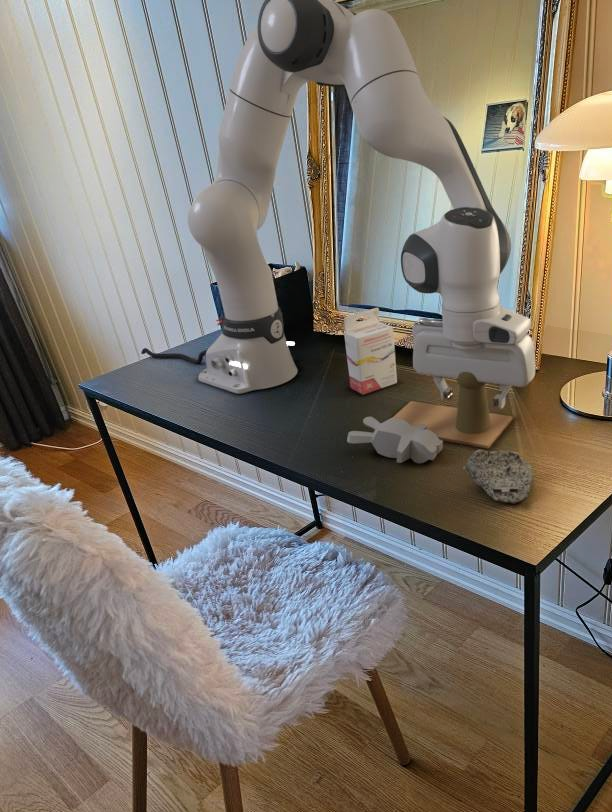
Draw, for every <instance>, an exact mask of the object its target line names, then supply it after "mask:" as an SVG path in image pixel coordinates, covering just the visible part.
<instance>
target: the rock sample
mask: <svg viewBox="0 0 612 812" xmlns="http://www.w3.org/2000/svg"><path fill="white" fill-rule="evenodd" d="M520 455H521V454H520V453H519V452H518V451H514V450H503V449H500V450H498V449H497V450H491V451H490V450H489V451H488V450H486V449H477V450H475V451H474V452H473V453H472V454H470V456H469V458H468V459H467V460H466V464H464V466H463V468H462V469H463V470H465V471H466V472H467V474H468V475H469V478H470V479H471V481H473V482H474V483H475V484H476V485H478V486H479V487H481V488H482V489H483V491H482V492H485V494H487V495H488V496H489V497H490V498H492V500H494V501H497V502H502V503H506V504H507V503H510V504H512V505H515V504H517V503H519V502H522V501H524V500H526V498H528V497H529V495H530V494H531V493H530V491H531V490H530V489H531V484H532V483H533V482H534V481H533V478H532V477H533V476H534V475H535V474H534V473H535V472H536V470H534V472H533V467H532V466H531V464H530V463H529V462H528V460H527V459H525V458H522V457H521V456H520Z"/></svg>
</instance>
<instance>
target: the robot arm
mask: <svg viewBox="0 0 612 812" xmlns="http://www.w3.org/2000/svg"><path fill="white" fill-rule="evenodd" d="M309 82H313V83H315V84H316V85H318V86H322V87H332V88H345V90H346V94H347V96H348V99H349V103H350V107H351V109H352V113H353V117H354V120H355V122H356V125H357V128H358V130H359V133H360V134H361V136H362V138H363V139H364V141H365V143H366V144H367V145H368V146H369V147H370V148H372V149H373V150H374V151H376V152H378V153H379V154H381V155H384V156H386V157H389V158H393V159H398V160H403V161H408V162H411V163H414V164H417V165H419V166H422V167H424V168H426V169H428V170H429V171H431V172H432V173H433V174H435V176H436V177H437V178H438V179H439V181H440V183H441V184H442V187H443V189H444V190H445V194H446V196H447V197H448V200H449V202H450V203H451V206H452V209H450V210H448V211H447V212H445V213H444V214H443V215H442V217H441V218H440V220H439V221H438V222H436V223H435V224H433V225H431V226H428V227H426V228H423V229H421V230H418V231H416V232H414V233H411V234H410V235H408V237H407V239H406V240H405V242H404V244H403V246H402V248H401V249H402V250H401V254H400V268H401V273H402V277H403V279H404V281H405V283H407V284H408V286H410V287H411V288H412V289H413V290H414V291H416V292H417V293H420V294H436V293H437V294H439V295H440V296H441V298H442V301H441V317H442V318H441V319H440V318H428V317H421V318H419V319H418V320H417V321H415V322H414V323H413V325H412V331H411V332H412V338H413V349H412V350H413V351H412V367H413V369H414V371H415V372H416V374H418V375H424V376H431V377H432V376H433V383H434V384H435V386H436V387H437V389H438V391H439V392H440V400H442V401H451V400H452V399H453V397H454V393H453V391H454V389H453V387H449V385H448V384H447V381H446V379H447V378H448V379H454V380H455V379H456V380H457V379H458V376H459V374H460V373H462V372H470V373H472V374H473V375H474V376H475V377H476V379H477V381H478V382H485V384H495V385H499V390H500V391H502V392H501V393H500V394H499V393H496V394H495V396H494V397H493V398H492V403H493V404H492V407H493V408H495V409H502V410H503V408H504V407H505V406H506V396H507V395H508V393H509V392H510V391H511V389H512V387H518V388H525V387H527V386H528V385H529V384H530V383H531V382H532V381H533V379H534V378H535V375H536V352H535V346H534V341H533V339H532V337H531V336H530V335H529V334H528V332H529V331H530V329H531V320H530V318H529V317H528V316H525V315H523V314H520V313H518V312H515V311H513V310H510V309H509V308H506V307H505V306H502V305H501V299H500V295H499V290H498V282H499V279H500V275H501V274H502V273H503V271H504V269H505V268H506V266H507V264H508V262H509V259H510V256H511V251H512V240H511V237H510V233H509V231H508V229H507V227H506V226H505V224H504V222H503V220H502V219H501V217H499V215H498V213H497V212H496V210H495V209H494V207H493V205H492V203H491V202H490V199H489V196H488V195H487V193H486V189H485V188H484V186H483V183H482V181H481V179H480V177H479V175H478V172H477V171H476V168H475V166H474V164H473V161H472V159H471V156H470V154H469V152H468V150H467V148H466V146H465V144H464V142H463V140H462V138H461V136H460V133H459V132H458V130H457V129H456V127H455V125H454V124H453V122H452V121H451V120H449V119H448V118H446V117H445V116H444V115H442V114H441V113H440V112H439V110H438V109H437V108H436V107H435V105H434V104H433V103H432V101H431V100H430V98H429V96H428V95H427V93H426V91H425V89H424V87H423V85H422V82H421V79H420V76H419V73H418V70H417V67H416V63H415V61H414V59H413V55H412V54H411V51H410V49H409V46H408V44H407V42H406V39H405V38H404V35H403V33H402V31H401V30H400V28H399V25H398V24H397V22H396V20H395V19H394V17H393V16H392V15H391V14H390V13H388V12H387V11H385V10H383V9H379V8H378V9H377V8H370V9H366V10H362V11H360V12H358V13H356V12H353V11H350V10H349V9H347V8H346V7H344V6H343V5H342V4H340V3H338V2H337V1H334V0H264V1H263V3H262V5H261V7H260V10H259V13H258V19H257V26H256V27H255V28H254V29H252V30H250V32H249V34H248V36H247V38H246V40H245V42H244V45H243V47H242V49H241V51H240V53H239V57H238V59H237V62H236V64H235V68H234V71H233V74H232V78H231V82H230V85H229V90H228V94H227V96H226V102H225V106H224V110H223V114H222V117H221V122H220V126H219V129H218V135H217V141H218V158H217V167H216V168H217V169H216V174H215V178H214V180H213V182H212V184H211V185H209V186H207V187H206V188H204V189H202V190H201V191H199V192H198V194H197V195H196V196H195V198H194V199H193V201H192V203H191V205H190V207H189V210H188V214H187V224H188V229H189V232H190V234H191V236H192V237H193V239H194V240H195V241H196V242H197V243H198V245H200V246H201V248H202V250H203V252H204V255H205V256H206V259H207V261H208V263H209V266H210V268H211V270H212V272H213V275H214V278H215V281H216V284H217V288H218V292H219V297H220V300H221V305H222V308H223V313H224V315H223V316H222V317H220V318H218V319H216V320H215V321H216V322H218V323H217V324H216V325H217V326H220V325H222V330H221V334H220V335H219V336H218V337H217V338H216V340H215V341H214V342H213V343H212V344H211V345H210V346H209V347H208V348H207V349H204V350H202V351H200V353H199V354H198V357H197V359H194V358H192V357H190V356H188V355H186V354H183V353H176V352H175V353H156V352H153V351H151V350H150V349H149V348H146V347H144V348H143V349H142V350H141V352H140V354H141V355H144V354H146V355H148V356H150V357H152V358H157V359H166V358H167V359H169V358H170V359H171V358H173V359H176V358H177V359H182V360H185V361H188V362H189V363H191V364H195V365H199V364H201V363H202V362H203V359H204V357H205V364H206V367H205V369H203V370H202V371H201V372H200V373H199V375H198V381H199V382H200V383H203V384H206V385H208V386H209V385H210V386H213V387H216V388H219V389H221V390H225V391H227V392H231V393H233V394H237V395H240V394H245V393H248V392H252V391H257V390H264V389H269V388H273V387H277V386H280V385H283V384H285V383H287V382H289V381H291V380H292V379H294V378H295V377H296V376H297V374H298V373H299V372H298V368H297V365H296V364H295V361H294V358H293V356H292V354H291V351H290V347H289V346H295V344H296V343H295V341H287V338H286V335H285V332H284V328H285V327H284V325H285V324H284V319H283V313H282V310H281V307H280V306H279V304H278V299H277V293H276V289H275V283H274V277H273V272H272V269H271V267H270V266H269V264H268V262H267V261H266V258H265V256H264V253H263V250H262V248H261V246H260V243H259V238H258V231H259V230H260V229H261V228H262V227H263V225H264V223H265V221H266V219H267V216H268V213H269V209H270V204H271V199H272V193H273V191H274V183H275V179H276V178H275V177H276V171H277V168H278V167H277V166H278V163H279V158H280V155H281V151H282V149H283V145H284V142H285V138H286V136H287V132H288V128H289V125H290V122H291V118H292V114H293V112H294V108H295V104H296V100H297V97H298V94H299V92H300V90H301V89H302V87H303V86H304V85H305V84H306V83H309Z"/></svg>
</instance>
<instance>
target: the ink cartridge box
mask: <svg viewBox="0 0 612 812" xmlns="http://www.w3.org/2000/svg"><path fill="white" fill-rule="evenodd" d="M362 317H363V318H366V317H367V319H363V320H361V321H357V320H359V319H361V318H362ZM343 327H344V329H343V330H344V333H343V334H344V335H343V336H344V342H345V353H346V361H347V369H348V378H349V385H350V386H349V387H350V389H352V390H353V391H356V392H357V393H359V394H361V395H367V394H370V393H372V392H375V391H378V390H381V389H384V388H386V387H389V386H393V385H395V384H398V375H397V374H398V373H397V363H396V349H395V348H396V347H395V336H394V326H392V325H389V324H386V323H383V322H381V321H380V308H379V307H374V308H371V309H367V310H363V311H360V312H357V313H354V314H350V315H346V316H345V317H343Z"/></svg>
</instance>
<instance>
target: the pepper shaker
mask: <svg viewBox="0 0 612 812" xmlns="http://www.w3.org/2000/svg"><path fill="white" fill-rule="evenodd" d="M456 382H457V384H458V385H459V389H458V391H459V392H458V398H457V399H458V400H457V407H456V408H457V417H456V429H457V430H458V431H460V432H462V433H466V434H478V433H482V432H485V431H487V430H488V429H490V427H491V421H490V415H489V413H490V408H489V402H488V397H487V396H488V395H487V389H486V383H485V382H478V381H477V379H476V377H475V376H474V375H473V374H472V373H470V372H462V373H460V374H459V376H458V379H456Z"/></svg>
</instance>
